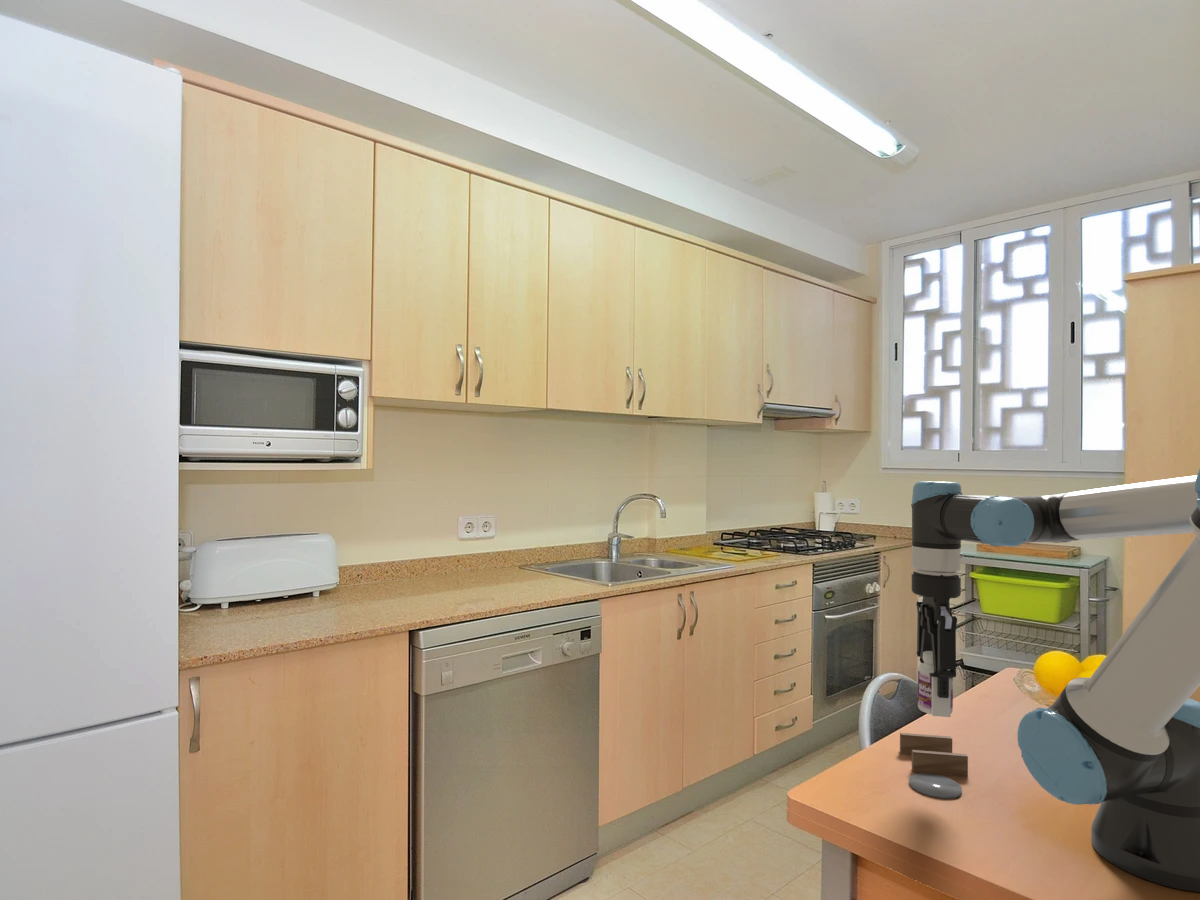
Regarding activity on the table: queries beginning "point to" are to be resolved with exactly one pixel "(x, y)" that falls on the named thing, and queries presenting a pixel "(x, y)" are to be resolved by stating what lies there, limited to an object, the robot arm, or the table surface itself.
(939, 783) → the coaster
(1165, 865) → the robot arm
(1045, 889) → the table surface
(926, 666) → the pill bottle
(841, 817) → the table surface
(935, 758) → the rail cradle
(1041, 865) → the table surface
